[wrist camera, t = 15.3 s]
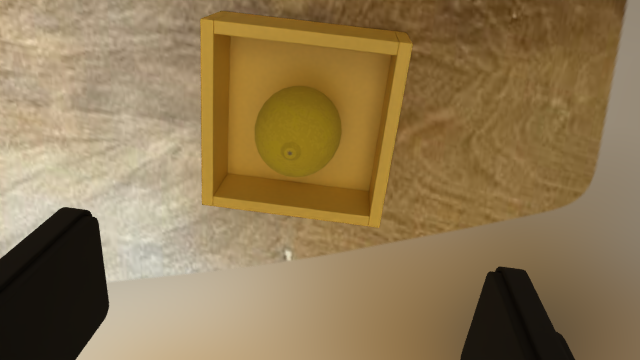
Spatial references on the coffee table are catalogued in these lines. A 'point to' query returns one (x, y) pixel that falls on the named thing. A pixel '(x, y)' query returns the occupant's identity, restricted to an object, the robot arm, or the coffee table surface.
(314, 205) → the yellow bin
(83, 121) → the coffee table surface
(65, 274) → the robot arm
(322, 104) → the lemon
